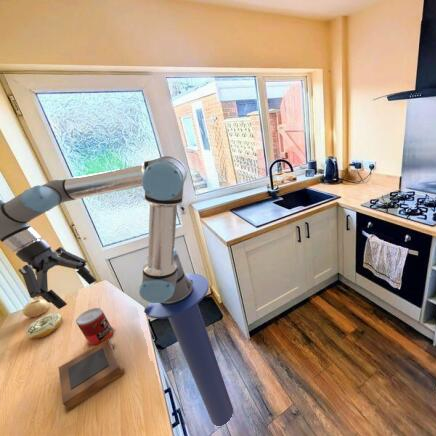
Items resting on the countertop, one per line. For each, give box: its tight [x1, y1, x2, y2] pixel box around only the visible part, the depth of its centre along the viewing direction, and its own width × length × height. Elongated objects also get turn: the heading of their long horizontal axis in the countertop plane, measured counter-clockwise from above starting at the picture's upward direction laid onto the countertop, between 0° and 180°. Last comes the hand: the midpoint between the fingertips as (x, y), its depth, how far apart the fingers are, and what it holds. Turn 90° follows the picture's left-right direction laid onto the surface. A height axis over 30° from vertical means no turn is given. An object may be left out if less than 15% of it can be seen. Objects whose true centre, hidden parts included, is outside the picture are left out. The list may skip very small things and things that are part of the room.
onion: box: [22, 297, 50, 318], centre depth 108 cm, size 8×8×7 cm
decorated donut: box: [25, 313, 63, 339], centre depth 99 cm, size 10×11×4 cm
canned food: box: [75, 307, 114, 346], centre depth 91 cm, size 8×8×11 cm
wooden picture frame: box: [58, 338, 124, 411], centre depth 79 cm, size 14×16×4 cm
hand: (79, 293), depth 85 cm, fingers open, 13 cm apart
